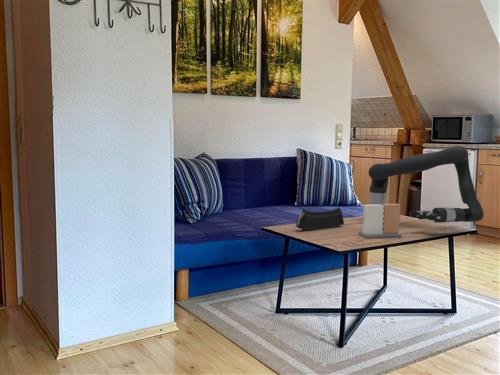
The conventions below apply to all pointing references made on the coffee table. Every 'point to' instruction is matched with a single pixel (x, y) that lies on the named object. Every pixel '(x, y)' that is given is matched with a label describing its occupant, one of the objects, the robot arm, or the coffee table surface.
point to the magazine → (319, 219)
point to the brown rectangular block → (391, 218)
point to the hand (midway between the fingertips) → (414, 215)
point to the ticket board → (375, 223)
